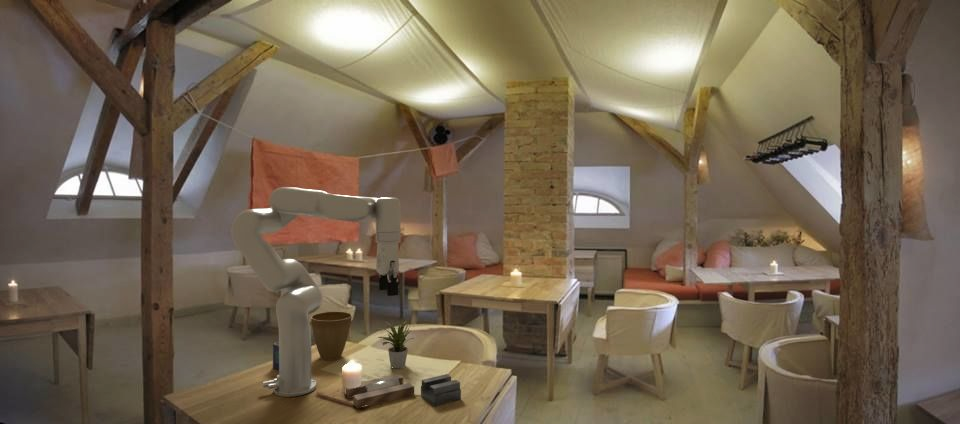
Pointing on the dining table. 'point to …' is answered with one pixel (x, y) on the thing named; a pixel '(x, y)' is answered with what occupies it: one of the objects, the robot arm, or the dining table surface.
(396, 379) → the axle
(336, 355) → the plant pot
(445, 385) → the v-block
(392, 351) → the house plant
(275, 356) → the flask
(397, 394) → the parallel rectangular beams
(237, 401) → the dining table surface
